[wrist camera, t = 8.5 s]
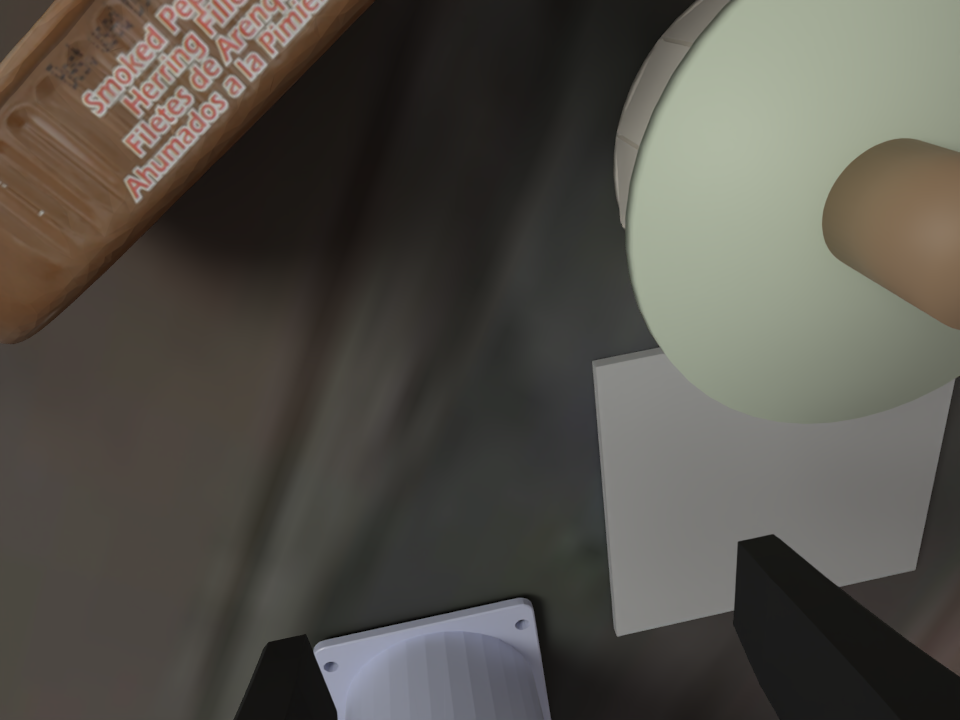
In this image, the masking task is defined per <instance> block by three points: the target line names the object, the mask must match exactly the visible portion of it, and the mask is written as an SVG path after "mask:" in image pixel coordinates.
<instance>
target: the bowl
mask: <svg viewBox="0 0 960 720" xmlns="http://www.w3.org/2000/svg"><path fill="white" fill-rule="evenodd" d="M729 1H730V0H696V1H695V2H694V3H693V4H691V5H690V6H689V7H688V8H687V9H686V10H685V11H684V12H683V13H682V14H681V15H680V16H679V17H678V18H677V19H676V20H675V21H674V22H673V23H672V24H671V25H670V27H669V28H668V29H667V30H666V31H665V32H664V34H663V35H661V37H660V38H659V40H658V41H657V42H656V44H655V45H654V47H653V48H652V50H651V51H650V53H649V54H648V56H647V57H646V59H645V60H644V62H643V64H642V66H641V68H640V70H639V71H638V73H637V75H636V77H635V79H634V81H633V83H632V85H631V88H630V90H629V93H628V96H627V98H626V101H625V103H624V106H623V109H622V113H621V117H620V121H619V124H618V128H617V133H616V141H615V148H614V184H615V192H616V199H617V203H618V206H619V210H620V222H621V223H622V224H623V225H622V227H623V228H624V229H625V215H626V207H627V200H628V193H629V185H630V180H631V176H632V172H633V168H634V164H635V161H636V157H637V153H638V149H639V146H640V143H641V140H642V138H643V135H644V133H645V130H646V128H647V125H648V122H649V120H650V117H651V115H652V112H653V110H654V108H655V106H656V104H657V102H658V100H659V98H660V97H661V95H662V93H663V91H664V89H665V87H666V85H667V83H668V81H669V79H670V78H671V76H672V74H673V72H674V71H675V69H676V68H677V66H678V65H679V64H680V62H681V61H682V59H683V58H684V56H685V55H686V53H687V52H688V50H689V49H690V47H691V46H692V44H693V43H694V41H695V40H696V39H697V38H698V36H699V35H700V34H701V33H702V32H703V30H704V29H705V28H706V27H707V26H708V25H709V23H710V22H711V21H712V20H713V19H714V17H715V16H716V15H717V14H718V13H719V12H720V10H721V9H722V8H723V7H724V6H725V5H726V4H727V3H728V2H729Z"/></svg>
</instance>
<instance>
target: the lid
mask: <svg viewBox="0 0 960 720" xmlns="http://www.w3.org/2000/svg"><path fill="white" fill-rule="evenodd" d="M625 250H626V257H627V265H628V272H629V279H630V282H631V286H632V289H633V293H634V296H635V300H636V303H637V306H638V308H639V311H640V313H641V315H642V317H643V319H644V321H645V324H646V326H647V328H648V330H649V331H650V333H651V334H652V336H653V337H654V339H655V340H656V342H657V343H658V345H659V346H660V348H661V349H662V351H663V352H664V354H665V355H666V356H667V357H668V359H669V360H670V361H671V362H672V364H673V365H674V366H675V367H676V368H677V369H678V370H679V371H680V372H681V373H682V374H683V375H684V376H685V377H686V379H687V380H688V381H689V382H691V383H692V384H693V385H694V386H696V387H697V388H698V389H700V390H701V391H702V392H704V393H705V394H706V395H707V396H709V397H710V398H712V399H714V400H716V401H718V402H720V403H722V404H723V405H725V406H727V407H729V408H731V409H734V410H736V411H739V412H742V413H745V414H747V415H750V416H753V417H757V418H762V419H767V420H771V421H776V422H785V423H799V424H814V423H832V422H839V421H845V420H851V419H857V418H861V417H865V416H869V415H872V414H876V413H880V412H883V411H887V410H890V409H892V408H895V407H897V406H900V405H903V404H905V403H908V402H911V401H913V400H915V399H917V398H919V397H922V396H924V395H926V394H928V393H930V392H932V391H934V390H936V389H938V388H940V387H942V386H943V385H945V384H947V383H948V382H950V381H952V380H953V379H955V378H957V377H958V376H960V0H730V1H729V2H728V3H727V4H726V5H725V6H724V7H723V8H722V9H721V10H720V12H719V13H718V14H717V15H716V16H715V17H714V19H713V20H712V21H711V22H710V23H709V25H708V26H707V27H706V28H705V29H704V30H703V32H702V33H701V34H700V35H699V36H698V38H697V39H696V40H695V41H694V43H693V44H692V46H691V47H690V49H689V50H688V52H687V53H686V55H685V56H684V58H683V59H682V61H681V62H680V64H679V65H678V66H677V68H676V69H675V71H674V72H673V74H672V76H671V78H670V79H669V81H668V83H667V85H666V87H665V89H664V91H663V93H662V95H661V97H660V98H659V100H658V102H657V104H656V106H655V108H654V110H653V112H652V115H651V117H650V120H649V122H648V125H647V128H646V130H645V133H644V135H643V138H642V140H641V143H640V146H639V149H638V153H637V157H636V161H635V164H634V168H633V172H632V176H631V180H630V185H629V193H628V200H627V207H626V215H625Z"/></svg>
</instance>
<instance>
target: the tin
mask: <svg viewBox="0 0 960 720" xmlns="http://www.w3.org/2000/svg"><path fill="white" fill-rule="evenodd" d="M374 1H375V0H55V1H54V2H53V4H52V5H51V6H50V7H49V8H48V10H47V11H46V12H45V13H44V14H43V15H42V17H41V18H40V19H39V20H38V21H37V22H36V23H35V24H34V26H33V27H32V28H31V29H30V31H29V32H28V33H27V34H26V35H25V36H24V37H23V38H22V39H21V40H20V41H19V42H18V43H17V45H16V46H15V47H14V48H13V49H12V50H11V51H10V53H9V54H8V55H7V56H6V57H5V59H4V60H3V61H2V62H1V63H0V343H4V344H16V343H19V342H22V341H24V340H26V339H28V338H30V337H32V336H33V335H34V334H36V333H37V332H39V331H40V330H41V329H43V328H44V327H45V326H46V325H48V324H49V323H50V322H51V321H52V320H54V319H55V318H56V317H57V316H58V315H59V314H60V313H62V312H63V311H64V310H65V309H66V308H67V307H68V306H69V305H70V304H71V303H73V302H74V301H75V300H76V299H77V298H78V297H79V296H80V295H81V294H82V293H83V292H84V291H85V290H86V289H87V288H88V287H90V286H91V285H92V284H93V283H94V282H95V281H96V280H97V279H98V278H99V277H100V276H101V275H102V274H104V273H105V272H106V271H107V270H108V269H109V268H110V267H111V266H112V265H113V264H114V263H115V262H116V261H117V260H118V259H119V258H120V257H121V256H122V255H123V254H124V253H125V252H126V251H127V250H128V249H129V248H130V247H131V246H132V245H133V244H134V243H135V242H136V241H137V240H138V239H139V238H140V237H141V236H142V235H143V234H144V233H145V232H146V231H147V230H148V229H149V228H150V227H151V226H152V225H153V224H154V223H156V222H157V221H158V219H159V218H160V217H161V216H162V215H163V214H164V213H165V212H166V211H167V210H168V209H169V208H170V207H171V206H172V205H173V204H174V203H175V202H176V201H177V200H178V199H179V198H180V197H181V196H182V195H183V194H184V193H185V192H186V191H187V190H189V189H190V188H191V187H192V186H193V185H194V184H195V183H196V182H197V181H198V180H199V179H200V178H201V177H202V176H203V175H204V174H205V172H206V171H207V170H208V169H209V168H210V167H211V166H212V165H213V164H214V163H215V162H216V161H218V160H219V159H220V158H221V157H222V156H223V155H224V154H225V153H226V152H227V151H228V150H229V149H230V148H231V147H232V146H233V145H234V144H235V143H236V142H237V141H238V140H239V139H240V138H241V137H242V136H243V135H244V134H245V133H246V132H247V131H248V130H249V129H250V128H251V127H252V126H253V125H254V124H255V123H256V122H257V121H258V120H259V119H260V118H261V117H262V116H263V115H264V114H265V113H266V112H267V111H268V110H269V109H270V108H271V107H272V106H273V105H274V104H275V103H276V102H277V101H278V100H279V99H280V98H281V97H282V96H283V95H284V94H285V93H286V92H287V91H288V90H289V89H290V88H291V87H292V86H293V84H294V83H295V82H296V81H297V80H298V79H299V78H300V77H301V76H302V75H303V74H304V73H305V72H306V71H307V70H308V69H309V68H310V67H311V66H312V65H313V64H314V63H315V62H316V61H317V60H318V59H319V58H320V57H321V56H322V55H323V54H324V53H325V52H326V51H327V50H328V49H329V48H330V47H331V46H332V45H333V44H334V42H335V41H336V40H337V39H338V38H339V37H340V36H341V35H342V34H343V33H344V32H345V31H346V30H347V29H348V28H349V27H350V26H351V25H352V24H353V23H354V22H355V21H356V20H357V19H358V18H359V17H360V16H361V15H362V14H363V13H364V12H365V11H366V10H367V9H368V7H369V6H370V5H371V4H372V3H373V2H374Z"/></svg>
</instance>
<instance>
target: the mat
mask: <svg viewBox="0 0 960 720" xmlns="http://www.w3.org/2000/svg"><path fill="white" fill-rule="evenodd" d="M592 364H593V377H594V389H595V401H596V414H597V426H598V438H599V451H600V463H601V476H602V488H603V500H604V513H605V525H606V537H607V550H608V562H609V574H610V587H611V599H612V611H613V624H614V630H615V632H616V635H617V636H621V635H626V634H630V633H635V632H639V631H644V630H648V629H653V628H657V627H662V626H666V625H671V624H675V623H680V622H684V621H689V620H693V619H698V618H702V617H707V616H711V615H716V614H720V613H724V612H729V611H733V610H734V602H735V584H736V565H737V546H738V541H743V540H747V539H752V538H757V537H761V536H766V535H771V534H774V535H775V536H777V537H778V538H780V539H781V540H782V541H783V542H785V543H786V544H787V545H788V546H789V547H791V548H792V549H793V550H794V551H795V552H797V553H798V554H799V555H800V556H801V557H803V558H804V559H805V560H806V561H807V562H809V563H810V564H811V565H812V566H814V567H815V568H816V569H817V570H818V571H820V572H821V573H822V574H823V575H825V576H826V577H827V578H828V579H829V580H831V581H832V582H833V583H834V584H836V585H837V586H838V587H841V586H845V585H850V584H854V583H859V582H863V581H868V580H872V579H877V578H881V577H886V576H890V575H895V574H899V573H904V572H908V571H913V570H915V569H916V564H917V559H918V555H919V550H920V545H921V540H922V535H923V531H924V526H925V521H926V516H927V512H928V507H929V502H930V497H931V492H932V488H933V483H934V478H935V473H936V469H937V464H938V459H939V454H940V449H941V445H942V440H943V435H944V430H945V425H946V421H947V416H948V411H949V406H950V402H951V397H952V392H953V387H954V382H955V379H953V380H952V381H950V382H948V383H947V384H945V385H943V386H942V387H940V388H938V389H936V390H934V391H932V392H930V393H928V394H926V395H924V396H922V397H919V398H917V399H915V400H913V401H911V402H908V403H905V404H903V405H900V406H897V407H895V408H892V409H890V410H887V411H883V412H880V413H876V414H872V415H869V416H865V417H861V418H857V419H851V420H845V421H839V422H832V423H814V424H799V423H785V422H776V421H771V420H767V419H762V418H757V417H753V416H750V415H747V414H745V413H742V412H739V411H736V410H734V409H731V408H729V407H727V406H725V405H723V404H722V403H720V402H718V401H716V400H714V399H712V398H710V397H709V396H707V395H706V394H705V393H704V392H702V391H701V390H700V389H698V388H697V387H696V386H694V385H693V384H692V383H691V382H689V381H688V380H687V379H686V377H685V376H684V375H683V374H682V373H681V372H680V371H679V370H678V369H677V368H676V367H675V366H674V365H673V364H672V362H671V361H670V360H669V359H668V357H667V356H666V355H665V354H664V352H663V351H662V349H661V348H660V347H659V348H654V349H649V350H644V351H639V352H634V353H629V354H624V355H619V356H614V357H609V358H604V359H599V360H594V361H592Z"/></svg>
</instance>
